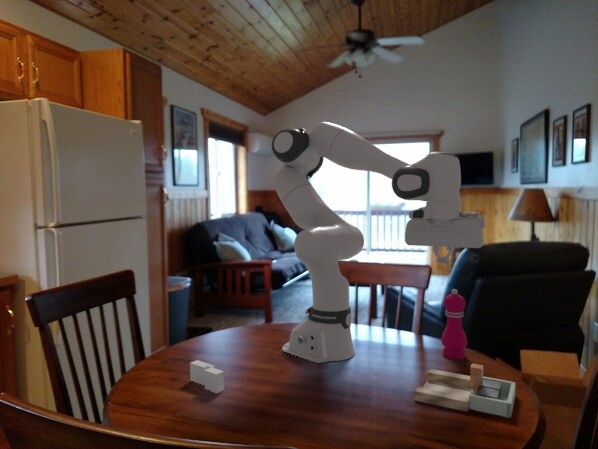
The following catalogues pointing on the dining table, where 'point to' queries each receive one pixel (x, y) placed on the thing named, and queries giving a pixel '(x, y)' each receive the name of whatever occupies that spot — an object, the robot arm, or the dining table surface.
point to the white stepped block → (207, 376)
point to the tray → (495, 400)
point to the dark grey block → (492, 385)
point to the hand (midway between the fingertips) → (443, 263)
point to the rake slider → (476, 378)
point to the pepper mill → (454, 327)
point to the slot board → (445, 390)
